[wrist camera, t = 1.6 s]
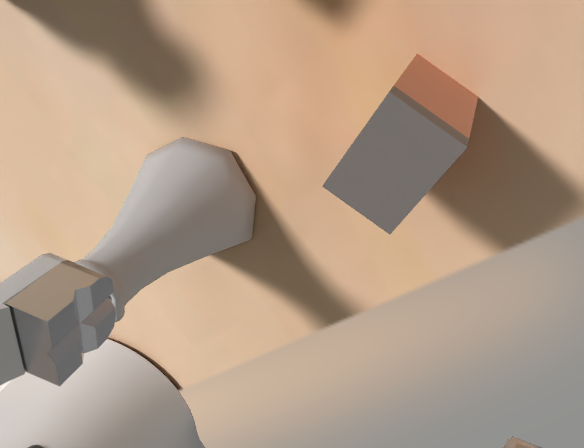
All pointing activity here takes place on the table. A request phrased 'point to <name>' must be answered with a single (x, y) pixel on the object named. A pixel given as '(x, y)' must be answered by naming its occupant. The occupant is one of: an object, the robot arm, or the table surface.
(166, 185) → the flask
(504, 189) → the table surface
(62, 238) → the table surface
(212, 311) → the table surface
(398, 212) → the block
